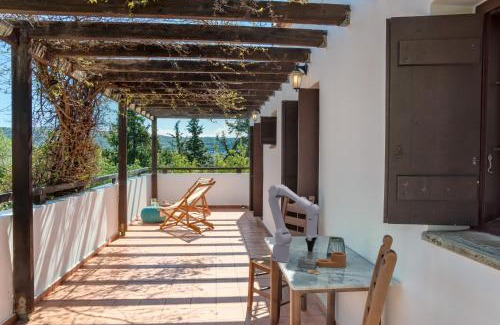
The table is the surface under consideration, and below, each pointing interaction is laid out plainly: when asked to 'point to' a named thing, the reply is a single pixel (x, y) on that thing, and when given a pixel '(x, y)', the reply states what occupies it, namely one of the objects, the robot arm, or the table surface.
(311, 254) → the slotted grey block
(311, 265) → the vise
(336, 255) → the bracket
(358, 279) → the table surface
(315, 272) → the pad
